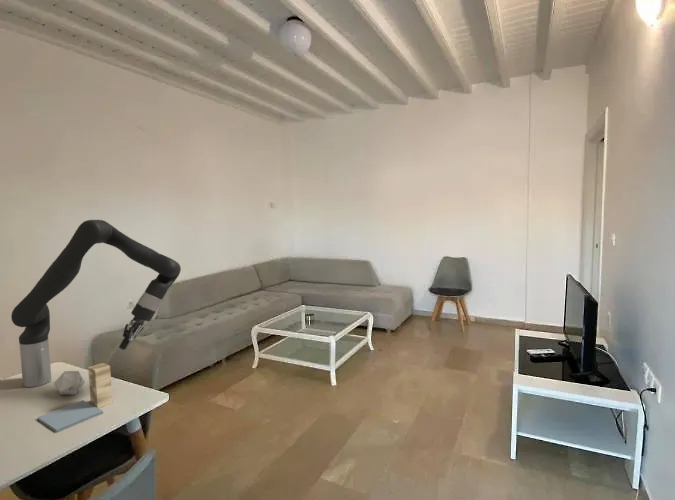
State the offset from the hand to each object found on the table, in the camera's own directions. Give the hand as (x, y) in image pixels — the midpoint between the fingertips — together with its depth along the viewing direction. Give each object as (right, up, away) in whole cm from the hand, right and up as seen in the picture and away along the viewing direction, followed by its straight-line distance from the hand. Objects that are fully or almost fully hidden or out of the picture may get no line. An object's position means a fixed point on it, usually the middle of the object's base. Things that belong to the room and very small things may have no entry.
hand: (122, 348), depth 147 cm
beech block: (-5, -19, -5) cm, 20 cm away
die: (-22, -18, +4) cm, 28 cm away
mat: (-10, -19, -13) cm, 26 cm away
